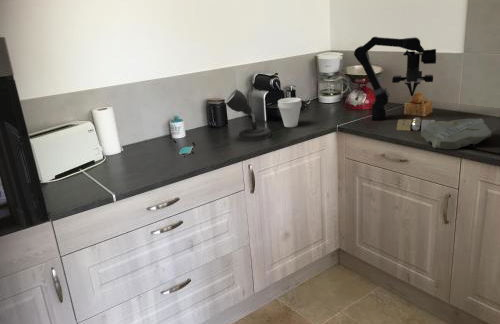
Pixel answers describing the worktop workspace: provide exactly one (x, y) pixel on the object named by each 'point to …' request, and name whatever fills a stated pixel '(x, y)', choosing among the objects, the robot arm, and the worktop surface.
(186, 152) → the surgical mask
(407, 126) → the olive box with knob
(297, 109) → the cup
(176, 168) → the worktop surface
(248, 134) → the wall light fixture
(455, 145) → the stone
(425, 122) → the fixed leaf
